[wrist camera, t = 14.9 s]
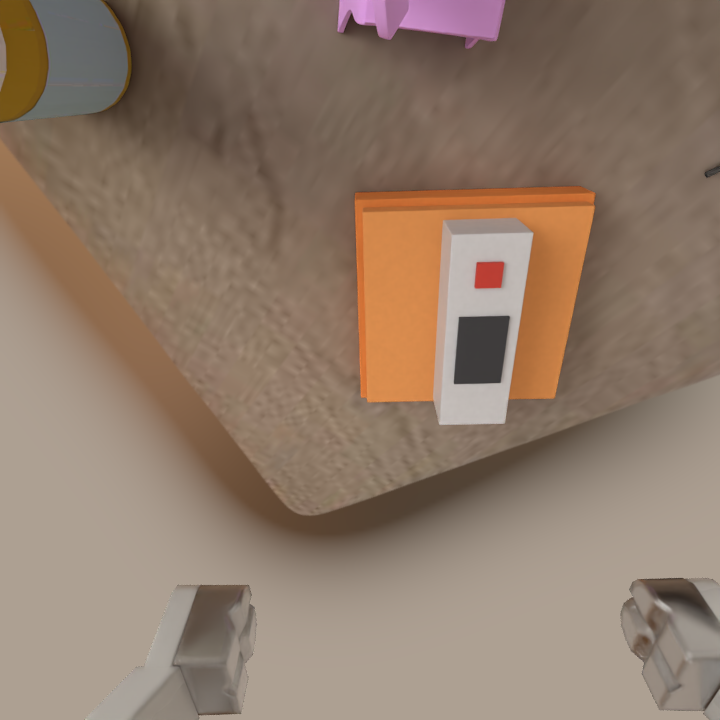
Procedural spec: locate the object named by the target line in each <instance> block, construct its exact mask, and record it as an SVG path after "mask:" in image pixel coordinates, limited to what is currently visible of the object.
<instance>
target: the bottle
mask: <svg viewBox="0 0 720 720" xmlns="http://www.w3.org/2000/svg"><path fill="white" fill-rule="evenodd" d="M131 70H132V65H131V52H130V47H129V44H128V41H127V38H126V35H125V31H124V29H123V27H122V25H121V24H120V22H119V20H118V19H117V17H116V15H115V14H114V12H113V11H112V9H111V8H110V7H109V6H108V5H107V4H106V3H105V2H104V1H103V0H0V123H3V122H13V121H23V120H33V119H43V118H54V117H64V116H74V115H84V114H91V113H96V112H101V111H105V110H107V109H109V108H110V107H112V106H113V105H115V104H116V103H117V102H118V101H119V100H120V99H121V97H122V96H123V94H124V93H125V91H126V90H127V87H128V84H129V80H130V76H131Z"/></svg>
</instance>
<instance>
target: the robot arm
mask: <svg viewBox="0 0 720 720" xmlns="http://www.w3.org/2000/svg"><path fill="white" fill-rule="evenodd" d="M629 590H630V592H631V594H632V596H633V597H632V598H630V599H629V600H627V601H626V602H625V603H624V604H623V608H622V610H621V626H622V629H623V633H624V636H625V639H626V641H627V643H628V645H629V648H630V650H631V651H632V652H633V653H634V654H635V655H636V656H637V657H639V658H640V659H641V660H642V661H643V662H644V665H643V671H642V675H643V677H644V679H645V681H646V683H647V686H648V688H649V690H650V692H651V694H652V696H653V698H654V700H655V702H656V704H657V706H658V708H659V710H674V711H676V710H677V711H705V712H704V713H703V714H704V715H705V716H706V717H707V718H708V719H709V720H720V585H719V584H718V583H717V582H716V581H714V580H713V579H709V578H691V579H684V578H667V579H637V580H636V581H634V582H633V583H632V585H631V587H630V589H629ZM251 595H252V594H251V591H250V587H249V585H177V587H176V588H175V589H174V591H173V592H172V594H171V596H170V599H169V602H168V604H167V607H166V609H165V612H164V615H163V617H162V620H161V623H160V625H159V628H158V631H157V633H156V636H155V638H154V641H153V644H152V646H151V649H150V652H149V654H148V657H147V660H146V662H145V665H144V666H143V667H142V666H141V667H136V668H135V669H134V670H133V671H132V672H131V673H130V674H129V675H128V676H127V677H126V678H125V679H124V680H123V681H122V682H121V683H120V684H119V685H118V686H117V687H116V688H115V689H114V690H113V691H112V692H111V693H110V694H109V695H108V696H107V697H106V698H105V699H104V700H103V701H102V702H101V703H100V704H99V705H98V706H97V707H96V708H95V709H94V710H93V711H92V712H91V713H90V714H89V715H88V716H87V717H86V718H85V719H84V720H199V716H198V715H220V714H241V712H242V707H243V702H244V697H245V692H246V687H247V682H248V675H247V670H246V667H245V663H246V662H247V661H248V660H249V658H250V657H251V656H252V655H253V651H254V645H255V638H256V626H257V623H256V612H255V608H254V607H253V606H252V605H251V604H250V600H251Z"/></svg>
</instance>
